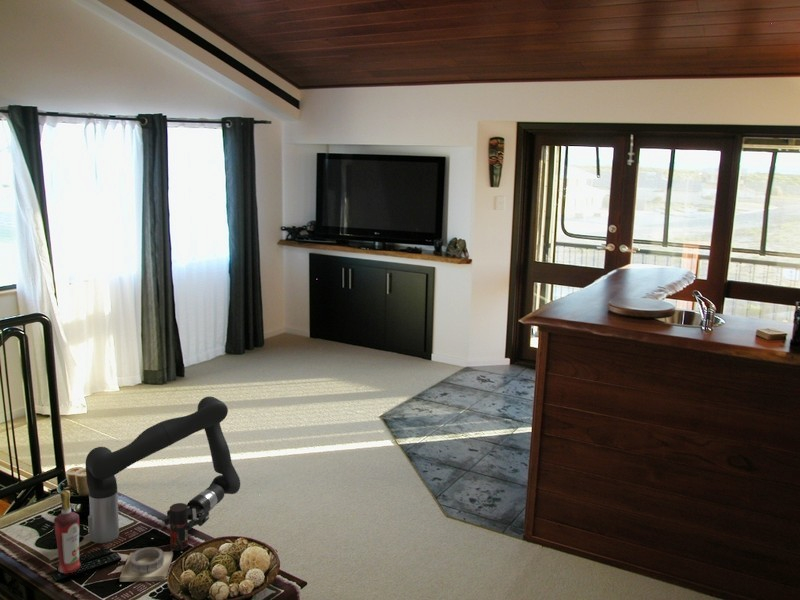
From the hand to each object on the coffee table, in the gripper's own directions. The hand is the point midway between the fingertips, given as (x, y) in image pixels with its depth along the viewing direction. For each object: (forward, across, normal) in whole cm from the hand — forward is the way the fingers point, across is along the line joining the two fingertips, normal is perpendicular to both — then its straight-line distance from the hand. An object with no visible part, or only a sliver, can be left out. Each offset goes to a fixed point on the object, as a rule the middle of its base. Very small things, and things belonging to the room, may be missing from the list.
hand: (175, 525), depth 241 cm
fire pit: (+13, -2, +9) cm, 16 cm away
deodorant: (-2, 0, +9) cm, 9 cm away
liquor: (+24, -24, +9) cm, 35 cm away
